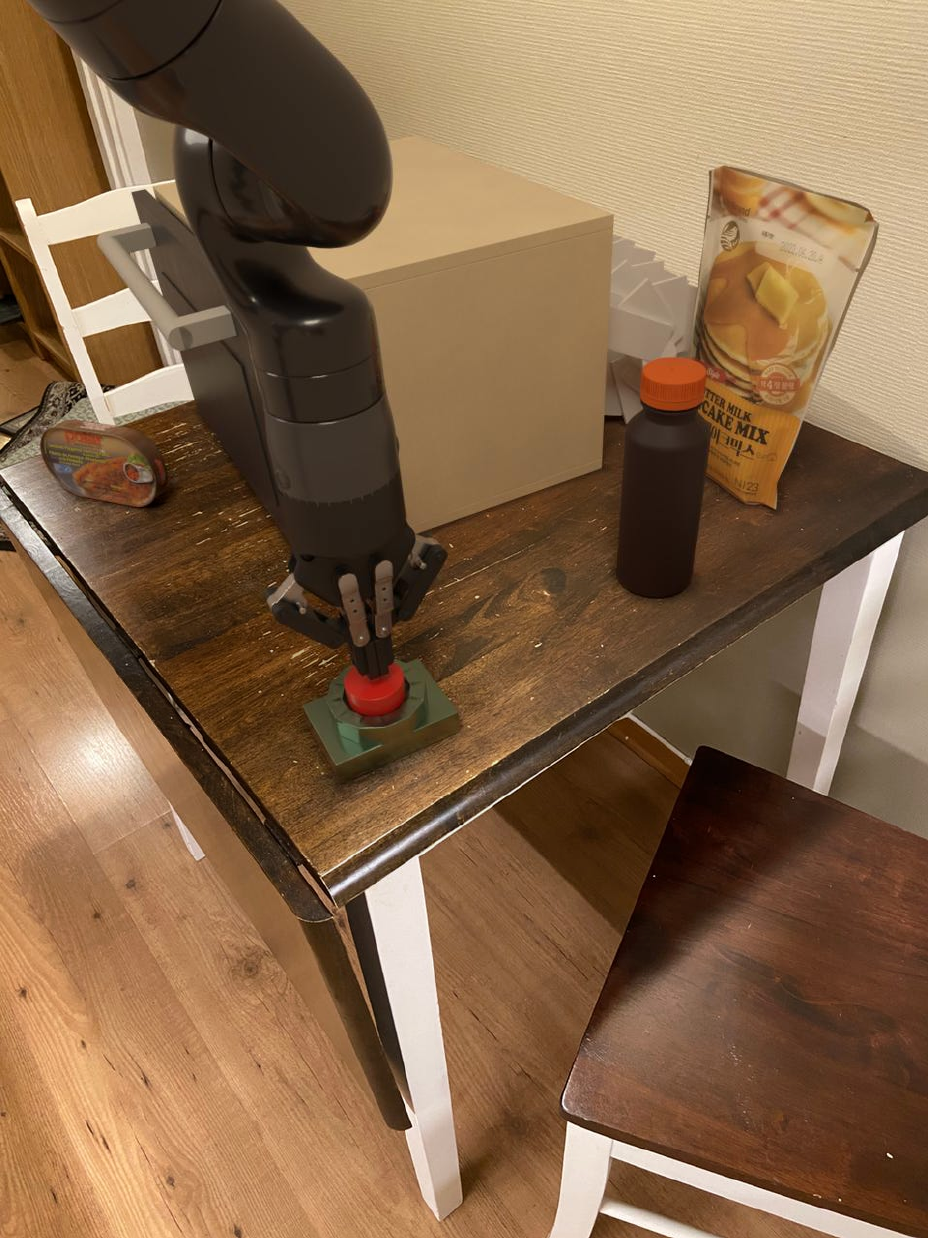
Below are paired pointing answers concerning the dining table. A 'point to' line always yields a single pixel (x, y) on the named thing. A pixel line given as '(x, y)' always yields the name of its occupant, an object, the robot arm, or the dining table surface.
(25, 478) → the dining table surface
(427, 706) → the button base
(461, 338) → the oven
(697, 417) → the bottle
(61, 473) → the tin
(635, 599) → the dining table surface
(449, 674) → the dining table surface
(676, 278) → the spiral staircase
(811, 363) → the pancake mix bag
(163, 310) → the oven door
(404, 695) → the button
